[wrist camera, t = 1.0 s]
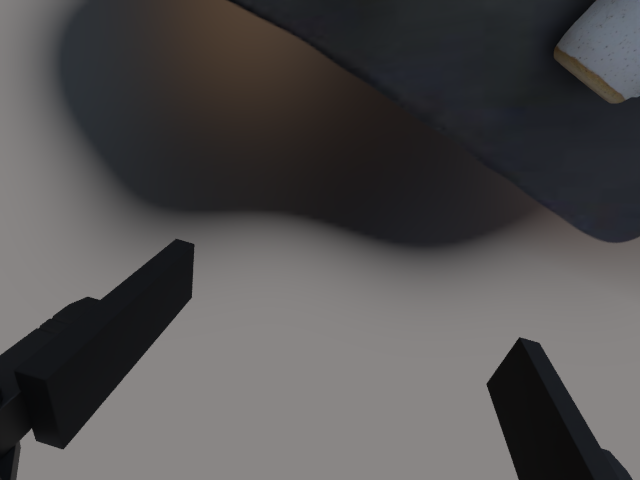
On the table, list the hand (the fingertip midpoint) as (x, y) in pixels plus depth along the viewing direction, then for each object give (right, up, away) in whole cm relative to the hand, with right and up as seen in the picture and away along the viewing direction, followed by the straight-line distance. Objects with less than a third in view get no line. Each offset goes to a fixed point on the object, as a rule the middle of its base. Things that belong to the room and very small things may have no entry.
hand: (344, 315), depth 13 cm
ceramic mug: (+24, +20, +14) cm, 35 cm away
